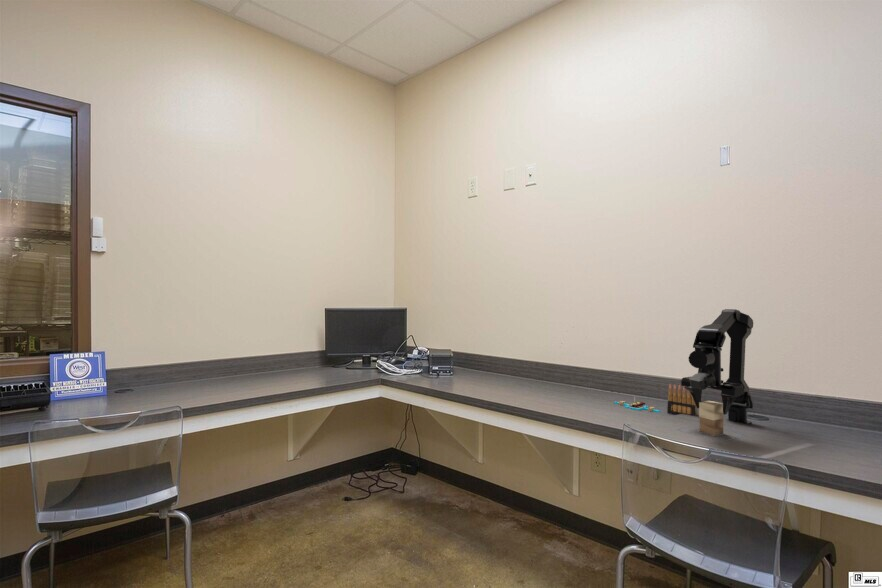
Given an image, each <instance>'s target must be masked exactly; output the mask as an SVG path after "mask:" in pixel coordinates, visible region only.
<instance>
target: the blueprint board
mask: <svg viewBox="0 0 882 588" xmlns="http://www.w3.org/2000/svg"><path fill="white" fill-rule="evenodd" d="M698 426H699V427H700V424H695V425H693V426H688V427H682V428H679V429H676V431H679V432H682V433H686V434H690V435H693V436H696V437H700V438H704V439H707V440H710V441H713V442H717V443H722V442H723V443H724V442H727V441H732V440H736V439H740V438H744V437H748V435H747V434H743V433H741V432H736V431H733V430H729V429H725V428H723V431H729V432H733V433H736V434H739V435H741V436H738V437H737V436H736V437H734V438H729V439H726V440H721V441H717V440H714V439H711V438H707V437H704V436H700V435H697V434H694V433H691V432H687V431H684V430H685V429H689V428H694V427H698ZM696 432H698V433H701V434H704V435H707V436H711V437H719V436H724V435H727V433H726V432H723V434H719V435H710V434H707V433H703V432H700V429H699V430H696Z"/></svg>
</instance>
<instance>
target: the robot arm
mask: <svg viewBox="0 0 882 588" xmlns="http://www.w3.org/2000/svg"><path fill="white" fill-rule="evenodd" d="M753 327H754V320H753V319H752V317H751V316H750V315H749V314H746V313H744V312H742V311H740V310H739V309H733V308H730V309H729V308H725V309H722V310H721V312H720V314H719V315H718V316H717V317H716V319H715V320H714V321H713V322H712V323H710V324H705V325H703V326H701V327H700V328H699V329H698V330H697V332H696V335H695V338H694V341H693V344H692V348H693V349H694V351H692V352H690V354H689V356H688V362H689V364H690V365H691V366H692V367H694V368H695V369H697V370H698V371H697V373H694V374H693V375H692V376H687V377H686V376H685V377H682V378H681V380H680V386H681V387H684V386H685V387H684V388H685V389H686V391H689V392H690V393H691V397H693V399H694V402H695V404H696V407H697V409H699V402H702V396H703V395H702V393H703V391H704V390H706V389H713V390H718V391H721V393H720V396H721V403H723V416H724V415H725V416H726V415H727V418H726V420H728V422H729V421H730V422H734V423H740V424H744V425H751V424H753V422H752V421H750V420H748V410H750V409H754V405H755V404H754V402H755V401H754V399H753V397H752V394H751V392H750V387H749V385H748V383H747V382H746V380H745V365H746V364H745V362H746V359H745V358H746V340H747V339H748V338H749V336H750V335H751V334H752V329H753ZM726 334H727V335H728V336H729V338H730V346H729V367H728V369H729V370H728V378H727V379H726V381H724V380H722V372H724V367H722V362H721V361H722V358H721V357H722V356H721V355H722V354H721V353H722V350H723V349H722V348H723V346H724V344H725V341H726V339H727V336H726Z"/></svg>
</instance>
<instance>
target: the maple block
mask: <svg viewBox="0 0 882 588" xmlns="http://www.w3.org/2000/svg"><path fill="white" fill-rule="evenodd" d="M698 409H699V412H698V413H699V415H698V416H699V417H702V418H706V419H710V420H718V419H723V420H724V414H723V402H717V401H713V400H703V401H701V402H699V408H698Z"/></svg>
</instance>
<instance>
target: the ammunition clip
mask: <svg viewBox="0 0 882 588" xmlns="http://www.w3.org/2000/svg"><path fill="white" fill-rule="evenodd" d="M668 385H669V386H668V393H667V396H668V397H667V409H666V410H667V411H666V414H670V415H676V416H677V415H683V414H684V415H689V416H695V417H696V416H698V408H697V407H696V404H695V402H694V399H693V397H692V395H691V393H690V392H689V391H688V390H687V389H685V388H684V387H686V386H681V384H679V385H678V387H677V385H676V384H673V387H672V383H669V384H668ZM682 387H683V388H682Z"/></svg>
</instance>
